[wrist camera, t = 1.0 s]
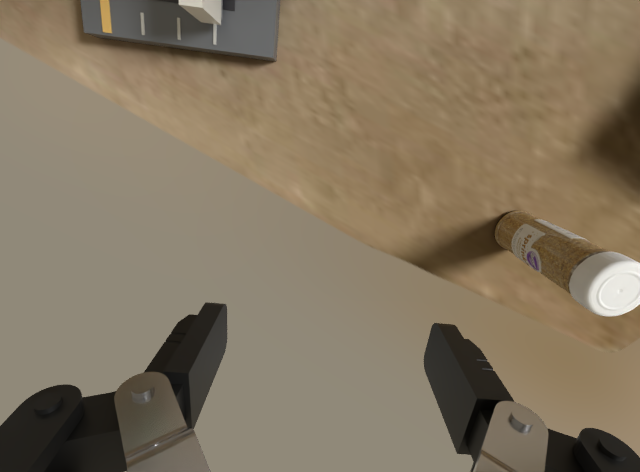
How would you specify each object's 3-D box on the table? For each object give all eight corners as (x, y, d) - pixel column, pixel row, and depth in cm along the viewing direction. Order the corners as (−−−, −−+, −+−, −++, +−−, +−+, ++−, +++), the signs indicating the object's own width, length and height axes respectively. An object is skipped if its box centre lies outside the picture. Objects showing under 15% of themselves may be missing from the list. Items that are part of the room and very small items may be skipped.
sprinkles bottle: (486, 224, 35) (578, 283, 23) (526, 201, 34) (645, 249, 22) (503, 256, 37) (598, 329, 24) (542, 235, 36) (663, 299, 23)
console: (89, -59, 27) (71, -73, 25) (282, -31, 28) (279, -42, 26) (99, 37, 29) (83, 32, 27) (276, 61, 30) (273, 57, 28)
